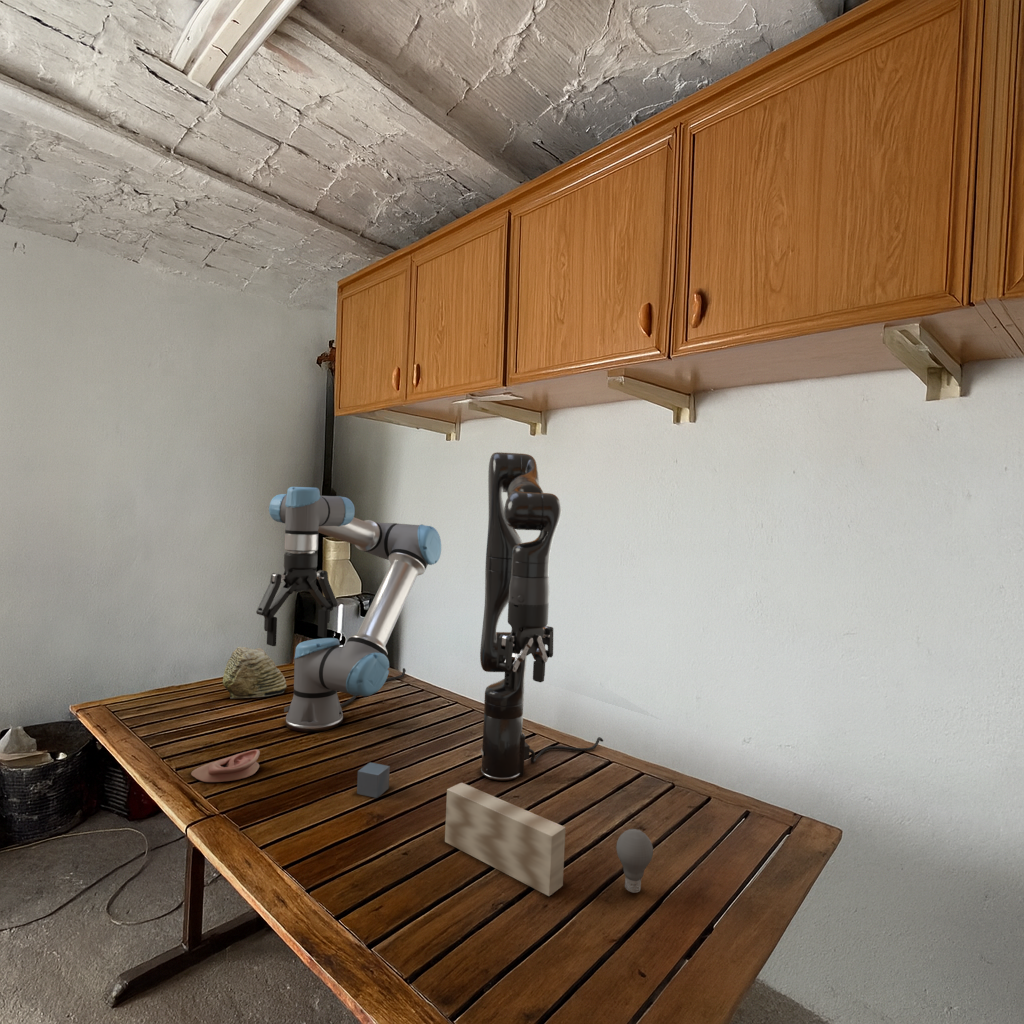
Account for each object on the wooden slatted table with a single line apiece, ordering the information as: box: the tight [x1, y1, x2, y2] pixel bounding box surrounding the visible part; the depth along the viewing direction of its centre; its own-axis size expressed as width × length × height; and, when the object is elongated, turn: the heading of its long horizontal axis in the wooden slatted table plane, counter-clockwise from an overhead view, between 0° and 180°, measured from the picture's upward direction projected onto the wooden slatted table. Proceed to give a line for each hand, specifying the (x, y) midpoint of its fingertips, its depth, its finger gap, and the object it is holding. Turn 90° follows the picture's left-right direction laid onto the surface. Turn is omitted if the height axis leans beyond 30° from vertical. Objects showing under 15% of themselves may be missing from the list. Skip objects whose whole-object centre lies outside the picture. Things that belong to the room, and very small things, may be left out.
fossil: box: [222, 646, 288, 699], centre depth 198 cm, size 9×18×15 cm, turn 132°
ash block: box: [444, 782, 566, 897], centre depth 112 cm, size 24×4×10 cm, turn 51°
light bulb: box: [615, 828, 654, 894], centre depth 106 cm, size 6×6×10 cm
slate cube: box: [356, 761, 391, 799], centre depth 137 cm, size 5×5×5 cm
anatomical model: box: [190, 748, 261, 783], centre depth 143 cm, size 13×4×12 cm
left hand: (297, 640), depth 151 cm, fingers open, 13 cm apart
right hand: (524, 686), depth 118 cm, fingers open, 8 cm apart
